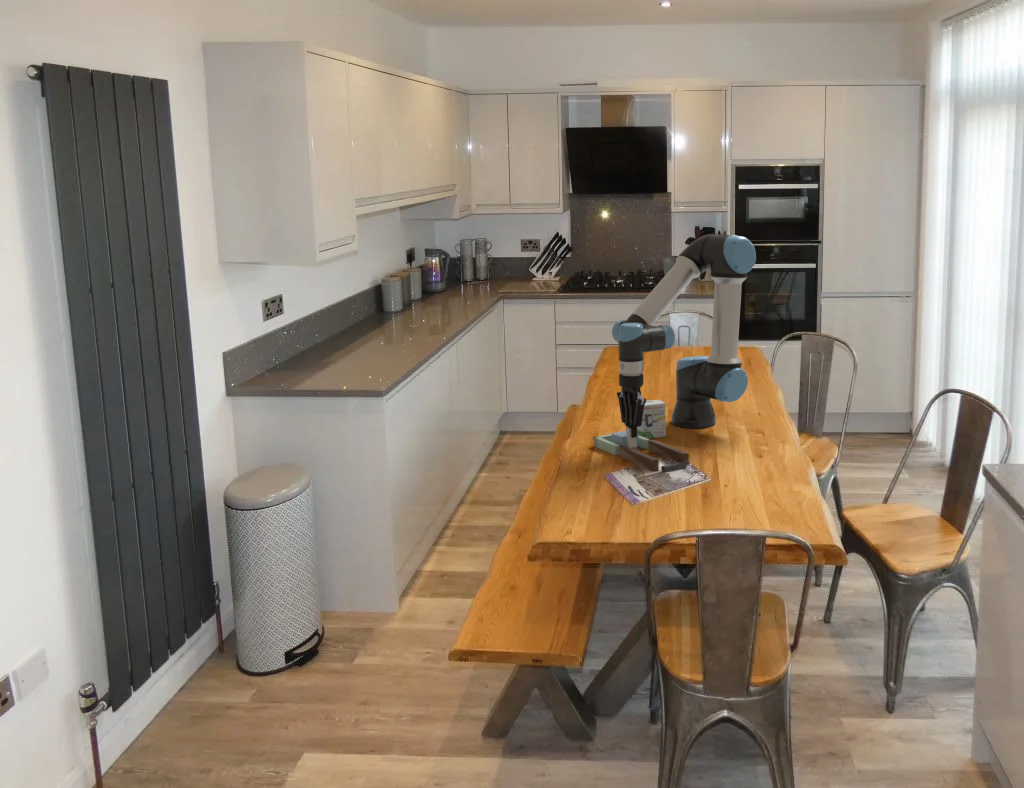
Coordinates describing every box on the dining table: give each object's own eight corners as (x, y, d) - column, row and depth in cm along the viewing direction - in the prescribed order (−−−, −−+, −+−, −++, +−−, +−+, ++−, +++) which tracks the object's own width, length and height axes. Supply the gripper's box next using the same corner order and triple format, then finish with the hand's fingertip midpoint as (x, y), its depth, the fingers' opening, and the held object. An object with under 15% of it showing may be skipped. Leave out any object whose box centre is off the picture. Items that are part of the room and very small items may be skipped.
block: (627, 445, 325) (627, 430, 324) (638, 449, 320) (638, 434, 319) (611, 448, 322) (611, 433, 321) (622, 452, 317) (622, 437, 316)
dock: (627, 439, 331) (627, 430, 330) (650, 448, 320) (650, 439, 319) (594, 446, 325) (594, 437, 325) (615, 455, 314) (615, 446, 314)
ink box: (659, 433, 337) (659, 399, 335) (666, 437, 333) (666, 402, 330) (636, 436, 335) (635, 401, 333) (642, 439, 330) (641, 404, 328)
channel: (653, 450, 318) (653, 439, 318) (688, 464, 303) (688, 453, 302) (619, 456, 313) (619, 446, 312) (653, 471, 297) (653, 460, 296)
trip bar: (683, 466, 301) (683, 461, 301) (686, 467, 300) (686, 462, 299) (661, 470, 297) (661, 466, 297) (664, 472, 296) (664, 467, 296)
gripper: (609, 371, 316) (610, 443, 321) (632, 378, 305) (633, 453, 310) (629, 368, 319) (630, 440, 325) (653, 375, 308) (653, 449, 314)
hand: (631, 446), depth 317 cm, fingers closed
